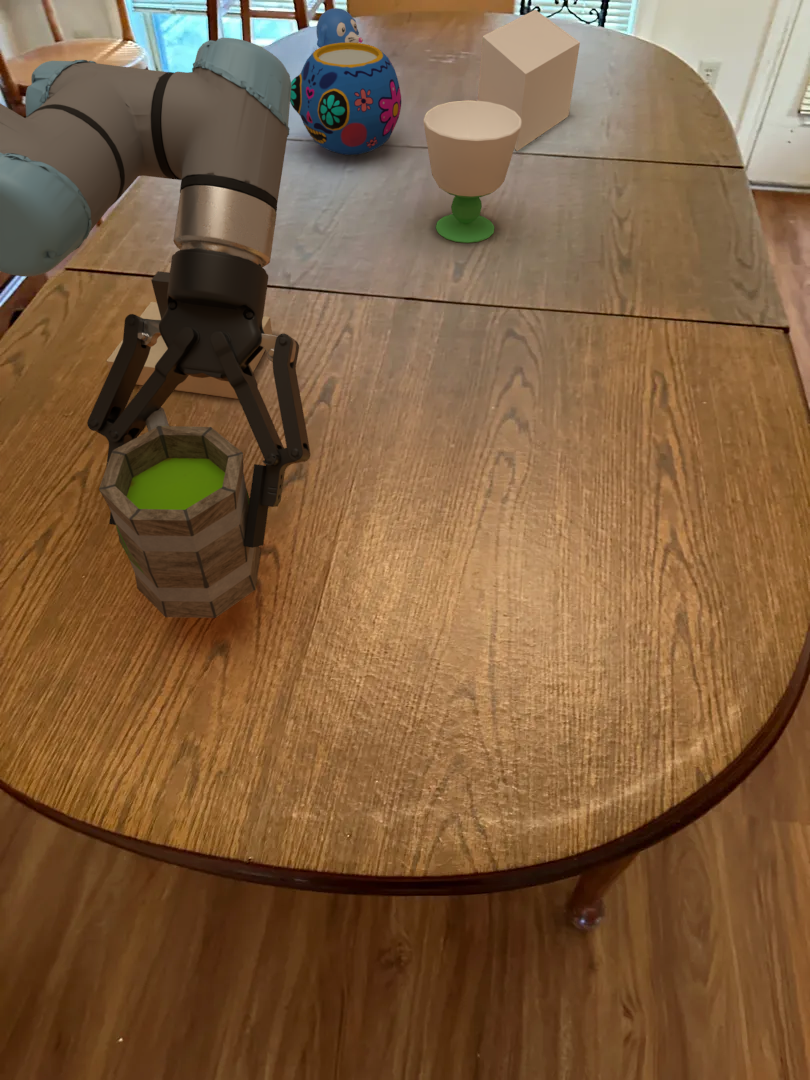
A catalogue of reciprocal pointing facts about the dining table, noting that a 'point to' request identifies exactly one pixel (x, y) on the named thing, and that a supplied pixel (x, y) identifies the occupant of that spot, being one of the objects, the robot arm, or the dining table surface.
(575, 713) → the dining table surface
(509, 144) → the cup
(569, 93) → the block
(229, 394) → the tan rectangular slab
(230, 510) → the mug
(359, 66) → the ceramic pot
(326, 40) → the blue mole toy
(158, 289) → the dark brown upright block
